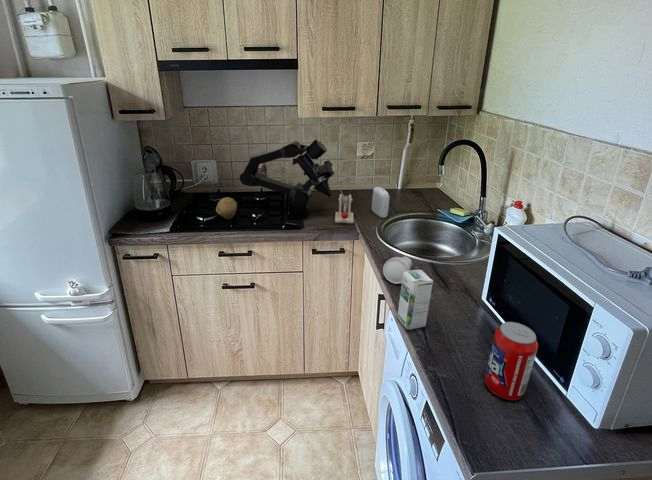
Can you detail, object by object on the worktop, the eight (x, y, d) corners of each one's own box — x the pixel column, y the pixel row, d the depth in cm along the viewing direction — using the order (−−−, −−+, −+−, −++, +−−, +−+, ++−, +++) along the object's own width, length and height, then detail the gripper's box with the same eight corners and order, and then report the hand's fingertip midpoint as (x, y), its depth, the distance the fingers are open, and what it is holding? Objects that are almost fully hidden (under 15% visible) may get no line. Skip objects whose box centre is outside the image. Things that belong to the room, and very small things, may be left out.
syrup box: (396, 317, 104) (401, 271, 99) (415, 314, 106) (421, 268, 101) (406, 330, 99) (413, 283, 94) (426, 327, 101) (434, 279, 96)
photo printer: (388, 217, 171) (391, 191, 167) (380, 218, 170) (382, 192, 165) (378, 209, 180) (380, 184, 176) (370, 210, 179) (372, 185, 175)
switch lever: (348, 220, 159) (348, 215, 157) (340, 219, 160) (341, 215, 158) (348, 200, 168) (348, 195, 165) (341, 199, 168) (342, 195, 166)
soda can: (525, 408, 77) (543, 349, 72) (483, 396, 80) (497, 338, 75) (521, 380, 84) (537, 325, 79) (483, 370, 87) (495, 315, 82)
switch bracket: (353, 223, 164) (354, 200, 160) (334, 222, 165) (335, 199, 161) (353, 215, 173) (354, 192, 169) (335, 214, 174) (336, 191, 170)
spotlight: (378, 276, 121) (387, 254, 119) (390, 268, 131) (398, 247, 129) (402, 289, 118) (411, 266, 115) (412, 279, 127) (421, 258, 125)
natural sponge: (215, 223, 163) (213, 201, 159) (219, 215, 171) (217, 194, 167) (236, 223, 163) (235, 201, 159) (239, 215, 171) (238, 194, 168)
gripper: (309, 159, 149) (333, 191, 147) (331, 151, 164) (353, 179, 162) (292, 176, 155) (315, 206, 154) (315, 166, 170) (336, 193, 169)
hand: (330, 196), depth 160 cm, fingers closed
